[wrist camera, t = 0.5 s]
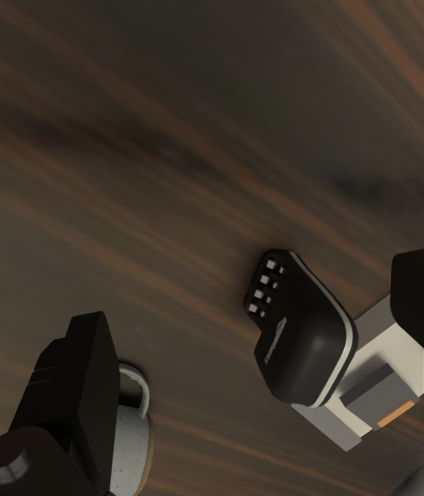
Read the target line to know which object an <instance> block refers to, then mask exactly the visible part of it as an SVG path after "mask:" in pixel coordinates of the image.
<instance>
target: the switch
mask: <svg viewBox="0 0 424 496" xmlns="http://www.w3.org/2000/svg"><path fill="white" fill-rule="evenodd" d="M339 399H340V400H341V402H342V404H343V405H344V407H345V408H346V409H348V410H349V411H350V412H352V413H353V414H354V415H355V416H357V417H358V418H359V419H361V420H362V421H363V422H365V423H366V424H367V425H368V426H370V427H371V428H372V429H374V430H375V431H376V430H378V429H379V428H380V427H383V426H384V425H386V424H387V423H389V422H390V421H392V420H393V419H395V418H396V417H397V416H399V415H400V414H402V413H403V412H405V411H406V410H408V409H409V408H410V407H412V406H413V405H415V403H417V402H418V401H419V400H421V399H420V398H419V397H418V396H417V395H416V394H415V392H414V391H413V390H412V389H411V388H410V387H409V386H408V385H407V384H406V382H405V381H404V380H403V379H402V378H401V377H400V376H399V375H398V374H397V373H396V372H395V371H394V369H393V368H392V367H391V366H390V365H389V364H388V363H386V364H384V365H383V366H382V367H380V368H379V369H377V370H376V371H375V372H373V373H372V374H371V375H369V376H368V377H366V378H365V379H364V380H362V381H361V382H359V383H358V384H357V385H355V386H354V387H353V388H351V389H350V390H348V391H347V392H346V393H344V394H343V395H342V396H340V397H339Z"/></svg>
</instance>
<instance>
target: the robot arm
mask: <svg viewBox="0 0 424 496" xmlns="http://www.w3.org/2000/svg"><path fill="white" fill-rule="evenodd" d="M390 309H391V313H392V316H393V318H394V320H395V321H396V323H397V324H398V325H399V326H400V327H401V328H402V329H403V330H404V331H405V332H406V333H407V334H408V335H410V336H411V337H412V338H413V339H414V340H415V341H416V342H417V343H418V344H419V345H420V346H421V347H423V348H424V249H421V250H415V251H410V252H405V253H400V254H396V255H395V256H394V258H393V260H392V270H391V290H390ZM119 391H120V369H119V363H118V358H117V355H116V351H115V348H114V344H113V341H112V337H111V334H110V330H109V327H108V323H107V320H106V317H105V314H104V312H103V311H98V312H93V313H88V314H82V315H77V316H73V317H72V319H71V322H70V324H69V327H68V330H67V333H66V336H65V338H60V339H55V340H53V341H52V342H51V343H50V344H49V345H48V346H47V348H46V349H45V350H44V351H43V352H42V353H41V354H40V356H39V358H38V361H37V363H36V365H35V368H34V372H33V373H32V375H31V378H30V380H29V385H27V387H26V390H25V392H24V394H23V397H22V399H21V402H20V404H19V406H18V409H17V411H16V414H15V416H14V418H13V421H12V423H11V426H10V428H9V430H8V432H7V433H5V434H3V435H1V436H0V496H116V495H115V494H114V493H112V492H111V491H110V483H111V473H112V463H113V453H114V442H115V432H116V422H117V411H118V401H119Z"/></svg>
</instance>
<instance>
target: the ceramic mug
mask: <svg viewBox="0 0 424 496" xmlns="http://www.w3.org/2000/svg"><path fill="white" fill-rule="evenodd" d="M119 369H120V372H122V373H125V374H127V375H129V376H130V378H131V379H132V380H136V381H138V383H139V384H140V385H142V387H143V391H142V392H143V395H142V402H141V405H140V407H139V408H138V409H136V408H133V407H129V406H123V405H118V411H117V422H116V432H115V442H114V453H113V463H112V473H111V483H110V491H111V492H112V493H114V494H115V495H116V496H136V495H137V494H138V493H139V492H140V491H141V490H142V488H143V487H144V485H145V482H146V480H147V477H148V474H149V471H150V468H151V462H152V457H153V451H154V426H153V422H152V420H151V418H150V416H149V414H147V413H146V412H147V409H148V406H149V388H148V385H147V382H146V380H145V378H144V377H143V375H142V374H141V373H140V372H139V371H138V370H137V369H136V368H134V367H132V366H129V365H126V364H121V363H119Z"/></svg>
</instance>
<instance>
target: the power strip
mask: <svg viewBox="0 0 424 496" xmlns="http://www.w3.org/2000/svg"><path fill="white" fill-rule="evenodd" d="M354 323H355V324H356V327H357V330H358V336H359V342H358V347H357V350H356V353H355V355H354V357H353V359H352V361H351V363H350V365H349V367H348V369H347V370H346V372H345V374H344V376H343V378H342V380H341V381H340V383H339V385H338V386H337V388H336V390H335V391H334V393H333V395H332V396H331V398H330V399H329V401H328V402H327V403H326V404H324V405H323V406H321V407H315V408H309V407H305V406H303V405H300V404H293V403H290V406H292V407H293V408H294V409H295V410H297V411H298V412H299V413H300V414H301V415H303V416H304V417H305V418H306V419H307V420H309V421H310V422H311V423H312V424H313V425H315V426H316V427H317V428H318V429H319V430H321V431H322V432H323V433H324V434H325V435H327V436H328V437H329V438H330V439H331V440H333V441H334V442H335V443H336V444H337V445H339V446H340V447H341V448H342V449H344V450H345V451H346V452H347V451H348V450H350V449H351V448H352V447H354V446H355V445H357V444H358V443H360V442H361V441H362V440H361V438H360V437H361V436H363V435H364V434H366V433H367V432H369V431H370V430H372V428H371V427H370V426H368V425H367V424H366V423H365V422H363V421H362V420H361V419H359V418H358V417H357V416H355V415H354V414H353V413H352V412H350V411H349V410H348V409H346V408H345V407H344V405H343V404H342V402H341V400H340V399H339V397H340V396H342V395H343V394H344V393H346V392H347V391H348V390H350V389H351V388H353V387H354V386H355V385H357V384H358V383H359V382H361V381H362V380H364V379H365V378H366V377H368V376H369V375H371V374H372V373H373V372H375V371H376V370H377V369H379V368H380V367H382V366H383V365H384V364H386V363H388V364H389V365H390V366H391V367H392V368H393V369H394V371H395V372H396V373H397V374H398V375H399V376H400V377H401V378H402V379H403V380H404V381H405V382H406V384H407V385H408V386H409V387H410V388H411V389H412V390H413V391H414V392H415V394H416V395H417V396H418V397H419V396H420V395H422V394H423V393H424V348H423V347H421V346H420V345H419V344H418V343H417V342H416V341H415V340H414V339H413V338H412V337H411V336H410V335H408V334H407V333H406V332H405V331H404V330H403V329H402V328H401V327H400V326H399V325H398V324H397V323H396V321H395V320H394V318H393V316H392V313H391V309H390V294H389V295H388V296H387V297H385V298H384V299H383V300H381V301H380V302H379V303H377V304H376V305H375V306H373V307H372V308H371V309H370V310H368V311H367V312H366V313H364V314H363V315H362V316H360V317H359V318H358V319H356V320H355V321H354Z"/></svg>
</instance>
